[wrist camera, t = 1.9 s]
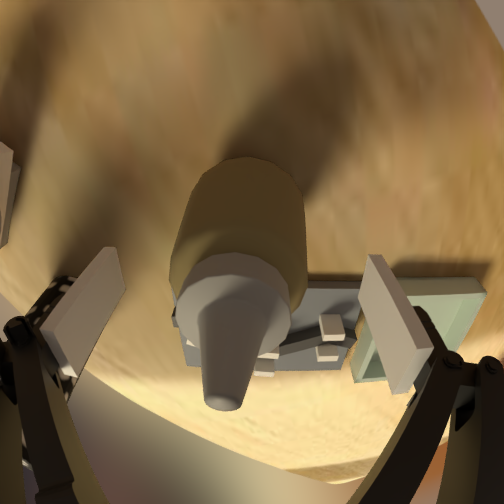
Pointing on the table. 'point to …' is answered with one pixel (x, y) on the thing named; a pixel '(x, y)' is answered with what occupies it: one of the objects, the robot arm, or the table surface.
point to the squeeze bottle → (238, 271)
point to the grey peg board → (307, 331)
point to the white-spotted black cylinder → (33, 316)
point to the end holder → (438, 308)
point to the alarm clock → (7, 190)
